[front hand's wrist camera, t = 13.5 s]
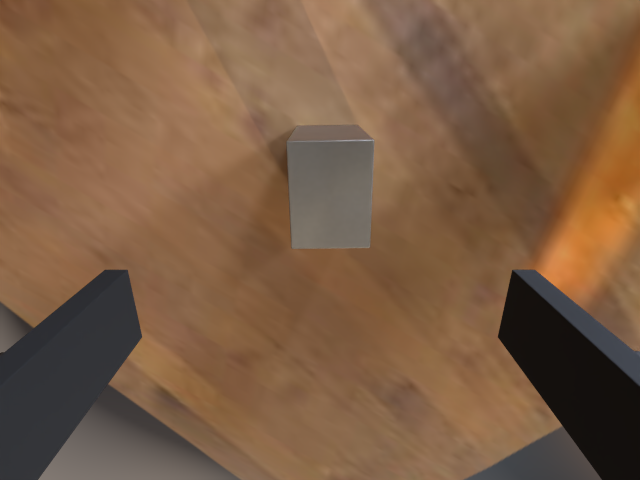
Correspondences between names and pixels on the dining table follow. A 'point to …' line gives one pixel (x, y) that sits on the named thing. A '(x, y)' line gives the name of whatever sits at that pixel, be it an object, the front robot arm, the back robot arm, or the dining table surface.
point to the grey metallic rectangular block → (330, 186)
